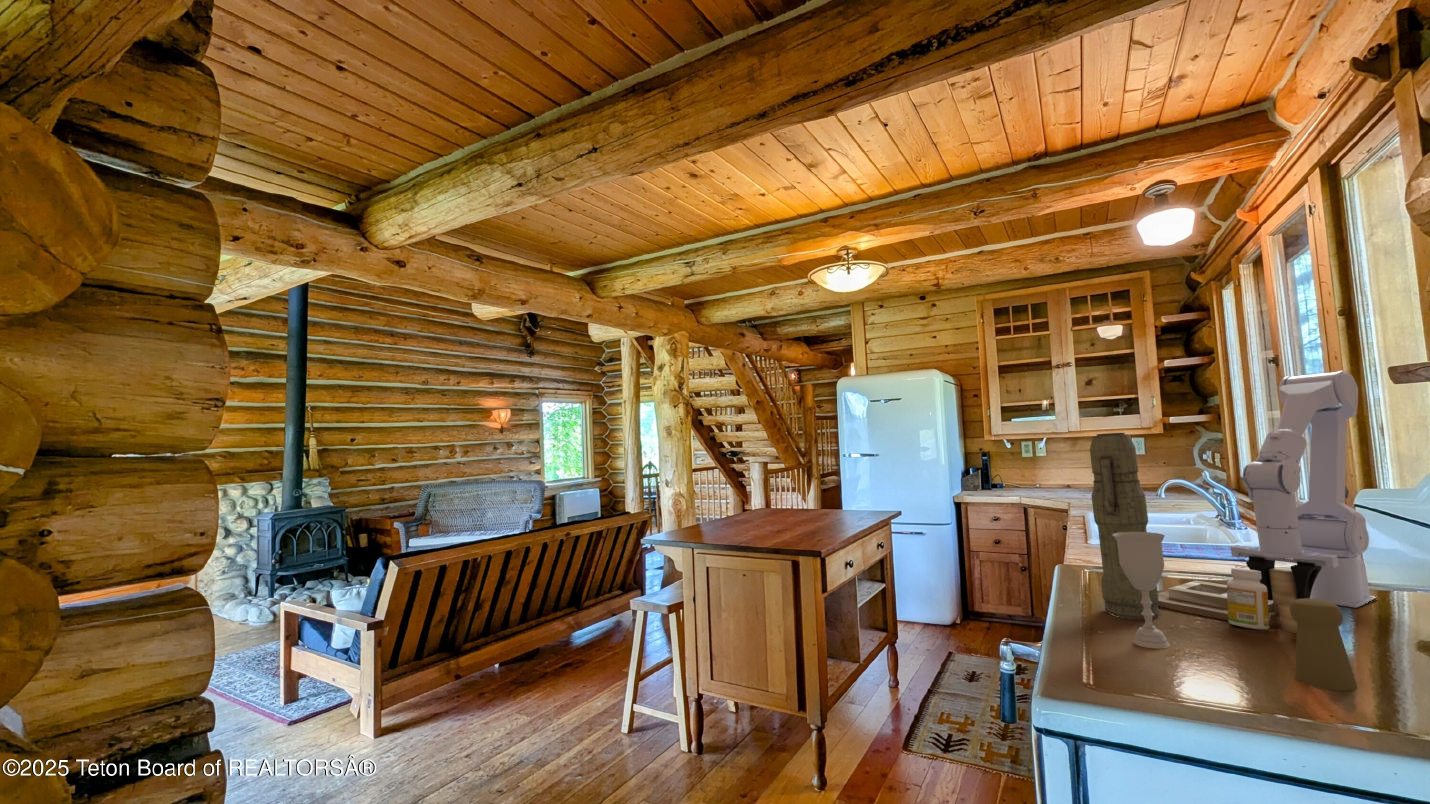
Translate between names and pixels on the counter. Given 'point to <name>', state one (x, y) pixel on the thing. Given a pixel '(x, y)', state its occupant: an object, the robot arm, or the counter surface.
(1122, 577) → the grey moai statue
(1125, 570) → the chalice
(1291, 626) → the short oak dowel
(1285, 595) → the long oak dowel
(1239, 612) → the supplement bottle
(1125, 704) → the counter surface
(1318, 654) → the olive tapered capped post
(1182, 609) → the collar board
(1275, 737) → the counter surface
